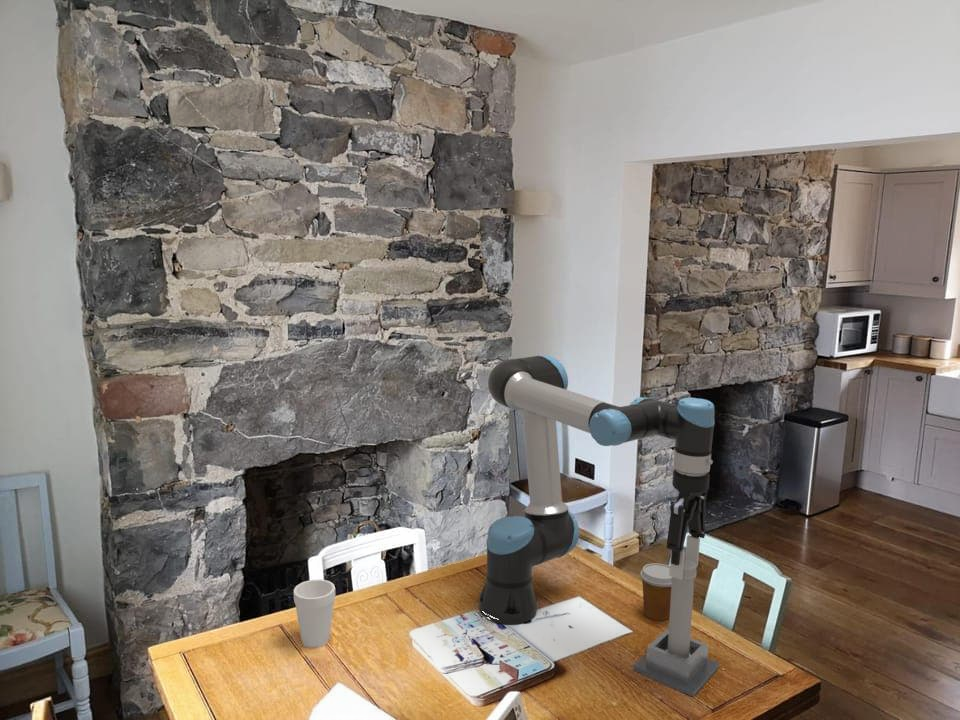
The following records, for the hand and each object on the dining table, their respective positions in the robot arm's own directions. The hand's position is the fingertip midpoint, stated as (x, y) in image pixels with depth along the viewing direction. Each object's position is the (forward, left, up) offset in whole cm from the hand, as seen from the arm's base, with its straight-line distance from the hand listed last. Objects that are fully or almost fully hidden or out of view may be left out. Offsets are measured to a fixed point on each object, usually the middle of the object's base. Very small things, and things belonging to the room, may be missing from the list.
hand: (683, 570), depth 154 cm
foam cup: (-69, -47, -24) cm, 87 cm away
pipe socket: (0, 0, -24) cm, 24 cm away
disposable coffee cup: (-14, +19, -24) cm, 34 cm away
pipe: (0, 0, -23) cm, 23 cm away
